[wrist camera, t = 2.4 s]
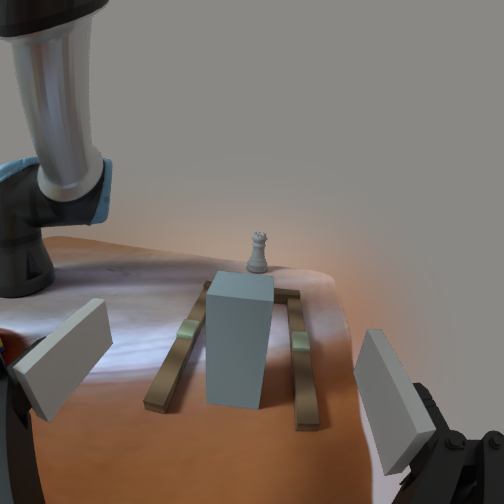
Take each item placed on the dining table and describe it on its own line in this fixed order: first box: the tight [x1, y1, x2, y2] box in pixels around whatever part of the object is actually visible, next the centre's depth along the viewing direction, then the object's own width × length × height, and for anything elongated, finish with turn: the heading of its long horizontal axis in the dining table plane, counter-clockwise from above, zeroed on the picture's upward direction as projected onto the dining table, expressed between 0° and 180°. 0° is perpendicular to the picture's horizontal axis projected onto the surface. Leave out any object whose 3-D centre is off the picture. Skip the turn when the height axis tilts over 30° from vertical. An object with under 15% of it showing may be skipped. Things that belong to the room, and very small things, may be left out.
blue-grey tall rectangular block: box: [206, 271, 274, 409], centre depth 25 cm, size 5×5×12 cm
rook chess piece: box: [247, 232, 267, 273], centre depth 59 cm, size 4×4×8 cm
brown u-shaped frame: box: [143, 281, 320, 431], centre depth 35 cm, size 28×16×2 cm, turn 176°
